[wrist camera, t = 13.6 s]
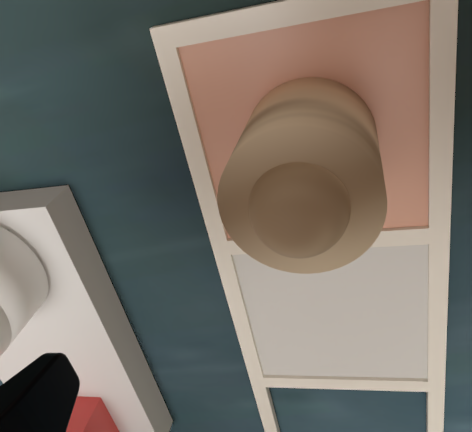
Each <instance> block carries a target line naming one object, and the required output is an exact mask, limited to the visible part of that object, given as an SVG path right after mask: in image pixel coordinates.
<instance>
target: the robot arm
mask: <svg viewBox="0 0 472 432" xmlns="http://www.w3.org/2000/svg"><path fill="white" fill-rule="evenodd" d="M79 387H80V380H79V377H78V375H77V373H76V371H75V370H74V368H73V366H72V364H71V363H70V361H69V359H68V357H67V356H66V355H65V354H63V353H45V354H43V355H41V356H40V357H38V358H37V359H36V360H34V361H33V362H32V363H30V364H29V365H28V366H26V367H25V368H24V369H22V370H21V371H20V372H18V373H17V374H16V375H14V376H13V377H12V378H10V379H9V380H8V381H6V382H5V383H4V384H2V385H1V386H0V432H66V430H67V427H68V424H69V420H70V417H71V414H72V411H73V408H74V405H75V401H76V398H77V395H78V392H79Z"/></svg>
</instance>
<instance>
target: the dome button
mask: <svg viewBox="0 0 472 432" xmlns="http://www.w3.org/2000/svg"><path fill="white" fill-rule="evenodd" d="M47 294H48V279H47V275H46V272H45V270H44V268H43V266H42V264H41V262H40V261H39V259H38V258H37V256H36V255H35V254H34V252H33V251H32V250H31V249H30V248H29V247H28V246H27V245H26V244H25V243H24V242H23V241H22V240H20V239H19V238H18V237H17V236H15V235H14V234H12V233H11V232H10V231H9V230H6V229H4V228H2V227H1V226H0V356H1V355H2V354H3V353H4V352H5V351H6V350H7V348H8V347H9V346H10V345H11V343H12V342H13V341H14V339H15V338H16V337H17V336H18V334H19V333H20V332H21V331H22V329H23V328H24V327H25V326H26V324H27V323H28V322H29V320H30V319H31V318H32V317H33V315H34V314H35V313H36V312H37V310H38V309H39V308H40V306H41V305H42V304H43V303H44V301H45V300H46V297H47Z"/></svg>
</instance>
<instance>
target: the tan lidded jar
mask: <svg viewBox="0 0 472 432" xmlns="http://www.w3.org/2000/svg"><path fill="white" fill-rule="evenodd" d="M217 202H218V210H219V214H220V217H221V220H222V223H223V225H224V227H225V229H226V231H227V233H228V234H229V236H230V237H231V239H232V240H233V241H234V242H235V243H236V245H237V246H238V247H239V248H240V249H242V250H243V251H244V252H245V253H246V254H248V255H249V256H250V257H252V258H253V259H255V260H257V261H258V262H260V263H262V264H264V265H266V266H269V267H271V268H274V269H277V270H281V271H285V272H290V273H298V274H313V273H322V272H327V271H331V270H334V269H338V268H340V267H343V266H345V265H347V264H349V263H351V262H352V261H354V260H356V259H357V258H359V257H360V256H361V255H363V254H364V253H365V252H366V251H367V250H368V249H369V248H370V247H371V246H372V245H373V243H374V242H375V241H376V239H377V238H378V236H379V234H380V232H381V231H382V228H383V225H384V223H385V219H386V214H387V194H386V187H385V181H384V174H383V168H382V161H381V155H380V148H379V142H378V135H377V129H376V124H375V120H374V117H373V115H372V113H371V111H370V109H369V107H368V106H367V104H366V103H365V102H364V100H363V99H362V98H361V97H360V96H359V95H358V94H357V93H356V92H354V91H353V90H352V89H350V88H349V87H347V86H346V85H343V84H341V83H339V82H337V81H334V80H331V79H326V78H321V77H304V78H298V79H294V80H290V81H288V82H285V83H283V84H281V85H279V86H277V87H275V88H274V89H272V90H271V91H270V92H268V93H267V94H266V95H265V96H264V97H263V98H262V99H261V100H260V102H259V103H258V104H257V106H256V107H255V109H254V111H253V112H252V114H251V116H250V118H249V120H248V122H247V124H246V126H245V129H244V131H243V133H242V135H241V137H240V139H239V141H238V143H237V145H236V147H235V149H234V151H233V153H232V155H231V157H230V159H229V161H228V163H227V165H226V167H225V169H224V171H223V173H222V175H221V178H220V182H219V186H218V193H217Z"/></svg>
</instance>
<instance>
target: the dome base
mask: <svg viewBox="0 0 472 432" xmlns="http://www.w3.org/2000/svg"><path fill="white" fill-rule="evenodd" d="M0 226H1V227H2V228H4V229H6V230H9V231H10V232H11V233H12V234H14V235H15V236H17V237H18V238H19V239H20V240H22V241H23V242H24V243H25V244H26V245H27V246H28V247H29V248H30V249H31V250H32V251H33V252H34V254H35V255H36V256H37V258H38V259H39V261H40V262H41V264H42V266H43V268H44V270H45V272H46V275H47V279H48V294H47V297H46V300H45V301H44V303H43V304H42V305H41V306H40V308H39V309H38V310H37V312H36V313H35V314H34V315H33V317H32V318H31V319H30V320H29V322H28V323H27V324H26V326H25V327H24V328H23V329H22V331H21V332H20V333H19V334H18V336H17V337H16V338H15V339H14V341H13V342H12V343H11V345H10V346H9V347H8V348H7V350H6V351H5V352H4V353H3V354H2V355H1V356H0V379H1V381H2V382H3V384H4V383H5V382H6V381H8V380H9V379H10V378H12V377H13V376H14V375H16V374H17V373H18V372H20V371H21V370H22V369H24V368H25V367H26V366H28V365H29V364H30V363H32V362H33V361H34V360H36V359H37V358H38V357H40V356H41V355H43V354H45V353H63V354H65V355H66V356H67V357H68V359H69V361H70V363H71V364H72V366H73V368H74V370H75V371H76V373H77V375H78V377H79V380H80V387H79V392H78V395H77V398H76V401H75V405H74V408H73V411H72V414H71V417H70V420H69V424H68V427H67V430H66V432H169V431H170V428H171V425H172V422H173V420H172V418H171V415H170V413H169V411H168V409H167V406H166V404H165V402H164V400H163V397H162V395H161V393H160V391H159V388H158V386H157V384H156V382H155V379H154V377H153V375H152V373H151V370H150V368H149V366H148V364H147V361H146V359H145V357H144V355H143V352H142V350H141V348H140V345H139V343H138V341H137V339H136V336H135V334H134V332H133V330H132V327H131V325H130V323H129V321H128V318H127V316H126V314H125V312H124V309H123V307H122V305H121V303H120V300H119V298H118V296H117V294H116V291H115V289H114V287H113V285H112V282H111V280H110V278H109V276H108V273H107V271H106V269H105V267H104V264H103V262H102V260H101V258H100V255H99V253H98V251H97V249H96V246H95V244H94V242H93V239H92V237H91V235H90V233H89V230H88V228H87V226H86V224H85V221H84V219H83V217H82V215H81V212H80V210H79V208H78V206H77V203H76V201H75V199H74V197H73V194H72V192H71V190H70V188H69V185H65V186H55V187H46V188H37V189H28V190H18V191H9V192H0Z"/></svg>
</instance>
